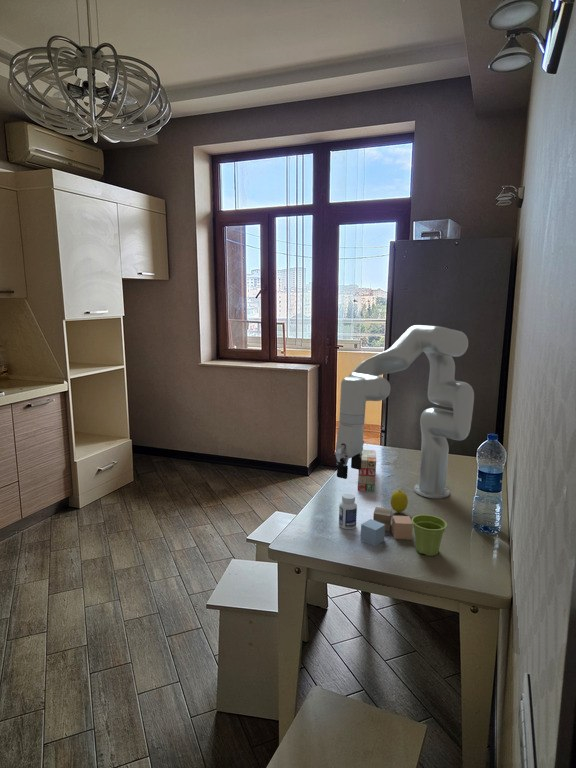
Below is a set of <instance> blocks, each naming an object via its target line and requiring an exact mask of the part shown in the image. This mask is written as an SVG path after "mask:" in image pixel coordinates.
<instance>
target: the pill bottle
mask: <svg viewBox="0 0 576 768" xmlns="http://www.w3.org/2000/svg"><path fill="white" fill-rule="evenodd" d="M357 504H358V503H356V496H355V495H354V494H352V493H344V494H342V496H341V501H340V502H339V505H338V506H339V509H338V510H339V512H338V525H339V527H340V528H342V529H344V530H352V529H353V530H354V529H355V528H356V527H357V513H358V512H357V511H358V505H357Z"/></svg>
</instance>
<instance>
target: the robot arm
mask: <svg viewBox="0 0 576 768" xmlns="http://www.w3.org/2000/svg"><path fill="white" fill-rule="evenodd" d="M468 348H469V339H468V336H467V335H466V334H465V333H464V332H463V331H462V330H456V329H452V328H448V327H444V326H441V325H440V326H438V325H427V324H426V325H424V324H414V325H411V326H410V327H408V328H407V329H406V330H405V332H403V333H402V334H401V335H400V336H399V338H398V339H396V340H395V342H394V343H392V345H391V346H389V348H388V349H386V350H384V351H382V352H379V353H377V354H375V355H373V356H371V357H368V358H367V359H365V360H363V361H362V362H361V363H359V364H357V366H356V367H355V368H354V370H352V371H351V373H350V374H349V375H348V376H347V377H344V378H342V380H341V383H340V401H339V402H340V403H339V418H338V419H339V420H338V423H339V425H338V429H337V434H336V435H337V436H336V444H335V458H336V459H335V461H336V465H337V466H336V477H337V478H339V479H343V480H347V479H348V472H349V471H348V470H349V465H348V463H349V462H348V461H349V459H351V460H350V461H351V463H350V464H351V465H350V467H351V469H353V470H358V471H359V470H360V469H361V460H362V450H364V443H365V440H364V425H365V424H366V422H365V419H366V404H367V402H370V401H371V402H381V401H383V400H386V398H388V397H389V395H390V393H391V390H392V389H391V387H392V386H391V384H390V382H389V380H388V379H386V378H384V377H383V376H382V375H387V374H393V373H397V372H401V371H404V370H405V371H406V369H408V368H409V367H410V366H411V364H412V363H413V362H414V361H415V360H416V359H417V358H418V357H419V356H420V355H421V354H422V353H424V354H425V356H426V357H427V359H428V362H429V377H428V385H427V400H428V401H429V402H430V403H431V404H435V405H437V406H442V407H447V408H452V410H449V409H444V408H439V407H428V408H426V409H424V410H423V411H422V413H421V414H420V419H419V420H420V421H419V423H420V424H419V425H420V432H421V446H420V447H421V448H420V458H419V459H420V462H419V475H418V476H419V477H418V483H416V484H414V485H413V486H414V487H413V491H414V492H415V493H416V495H419V496H421V497H423V498H424V497H425V498H429V499H445V498H447V497H449V496H450V490H449V488H448V487H446V486H447V473H448V464H449V463H448V462H449V461H448V460H449V450H450V449H449V443H448V440H447V439H450V440H453V441H464V440H466V439H467V437H468V436H469V434H470V432H471V427H472V421H473V413H474V412H473V411H474V404H475V403H474V402H475V392H474V389H473V387H472V385H470V384H469V383H468V382H466V381H460V380H456V378H455V375H456V374H455V373H456V364H455V363H456V362H455V361H454V358H453V357H456V358H457V357H461V356H463V355H464V354H465V353H466V352H467V349H468Z"/></svg>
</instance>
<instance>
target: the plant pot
mask: <svg viewBox="0 0 576 768" xmlns="http://www.w3.org/2000/svg"><path fill="white" fill-rule="evenodd" d="M411 521H412V523H413V528H414V538H415V539H414V540H415V550H416V551H417V552H418V553H419V554H424V555H425V556H428V557H429V556H430V557H431V556H436V555H438V553H439V551H440V547H441V543H442V538H443V534H444V533H445V530H446V528H447V526H448V523H447V522H446V521H445V520H444V519H442V518H441V517H438V516H437V515H436V516H435V515H430V514H418V515H417V514H416V515H415V516H413V517H412V518H411Z"/></svg>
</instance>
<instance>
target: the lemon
mask: <svg viewBox="0 0 576 768" xmlns="http://www.w3.org/2000/svg"><path fill="white" fill-rule="evenodd" d="M408 503H409V499H408V496H407V493H405V492H404V491H402V489H398V490H396V491H394V492H393V493H392V494H391V497H390V507H391V509H392V510H393V511H395V512H396V513H397V514H400V513H402V512H404V511H405V510H406V509H407V507H408Z"/></svg>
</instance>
